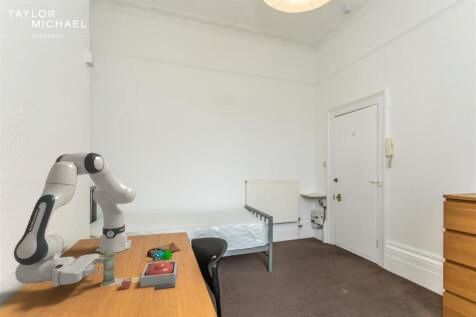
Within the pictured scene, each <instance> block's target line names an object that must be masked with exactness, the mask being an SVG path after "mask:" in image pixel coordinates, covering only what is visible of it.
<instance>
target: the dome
mask: <svg viewBox="0 0 476 317" xmlns="http://www.w3.org/2000/svg"><path fill="white" fill-rule="evenodd" d="M154 263H155V264H152V265H150V266H149V267H148V268H147V276H152V275H162V274H172V273H173V264H172V263H169V262H168V261H159V263H157V262H154Z"/></svg>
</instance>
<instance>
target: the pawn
mask: <svg viewBox="0 0 476 317" xmlns="http://www.w3.org/2000/svg"><path fill="white" fill-rule="evenodd" d="M102 258H103V259H104V264H103V279H102V281H101V284H102V285H108V286H111V285H110V284H113V283H114V282H115V279H116V277H115V258H116V253H115V251H114V250H112V249H109V250H107V251H105V252H104V254H103V253H102ZM115 283H116V282H115ZM115 283H114V284H115Z"/></svg>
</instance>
